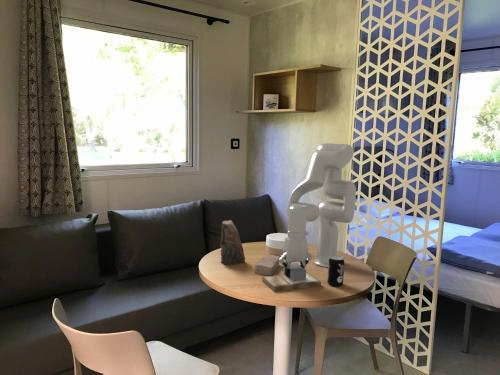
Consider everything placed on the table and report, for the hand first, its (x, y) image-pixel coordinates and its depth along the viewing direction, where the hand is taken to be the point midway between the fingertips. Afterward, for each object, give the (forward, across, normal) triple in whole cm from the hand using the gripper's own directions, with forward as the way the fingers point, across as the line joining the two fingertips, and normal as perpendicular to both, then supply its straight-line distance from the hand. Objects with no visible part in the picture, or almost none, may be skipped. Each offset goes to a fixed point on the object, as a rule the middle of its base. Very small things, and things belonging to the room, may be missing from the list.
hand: (294, 275), depth 168 cm
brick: (+4, +4, -20) cm, 21 cm away
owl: (+4, +16, -35) cm, 39 cm away
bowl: (+4, -16, -45) cm, 48 cm away
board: (+3, +1, 0) cm, 4 cm away
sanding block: (+1, 0, 0) cm, 1 cm away
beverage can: (+4, -17, +6) cm, 18 cm away
